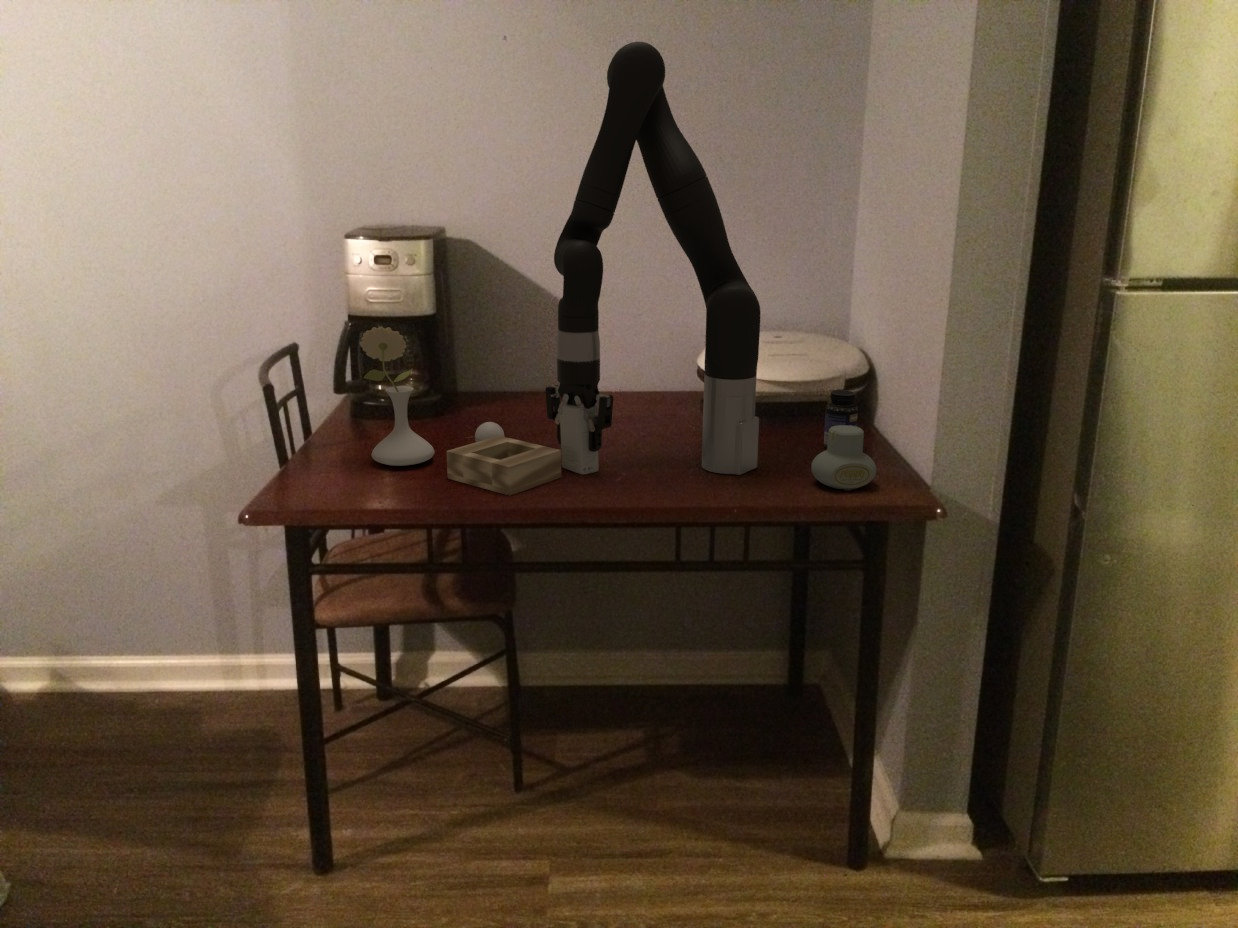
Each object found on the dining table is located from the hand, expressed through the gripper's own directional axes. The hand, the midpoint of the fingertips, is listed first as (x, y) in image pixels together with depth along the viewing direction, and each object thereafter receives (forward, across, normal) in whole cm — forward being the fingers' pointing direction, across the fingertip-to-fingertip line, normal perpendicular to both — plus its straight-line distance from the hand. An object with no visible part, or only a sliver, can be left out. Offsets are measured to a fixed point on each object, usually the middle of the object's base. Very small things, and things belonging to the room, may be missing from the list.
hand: (579, 447), depth 183 cm
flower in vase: (+5, +29, +17) cm, 34 cm away
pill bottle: (+5, -30, -43) cm, 53 cm away
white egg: (+5, +22, +2) cm, 23 cm away
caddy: (+4, +7, +12) cm, 15 cm away
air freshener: (+5, -41, -22) cm, 47 cm away
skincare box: (+4, 0, 0) cm, 4 cm away
